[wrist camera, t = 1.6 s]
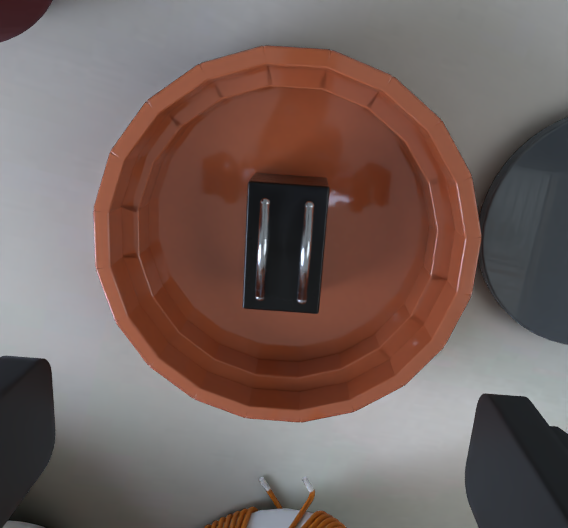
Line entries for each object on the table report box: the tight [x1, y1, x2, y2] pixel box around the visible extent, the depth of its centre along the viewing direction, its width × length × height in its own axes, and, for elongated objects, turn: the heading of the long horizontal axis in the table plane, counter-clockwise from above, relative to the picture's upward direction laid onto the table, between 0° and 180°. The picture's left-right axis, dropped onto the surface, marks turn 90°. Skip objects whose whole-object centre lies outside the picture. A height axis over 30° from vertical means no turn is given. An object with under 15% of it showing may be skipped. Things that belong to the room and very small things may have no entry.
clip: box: [242, 173, 330, 314], centre depth 21 cm, size 5×3×3 cm, turn 176°
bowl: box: [93, 45, 482, 422], centre depth 22 cm, size 14×14×4 cm
